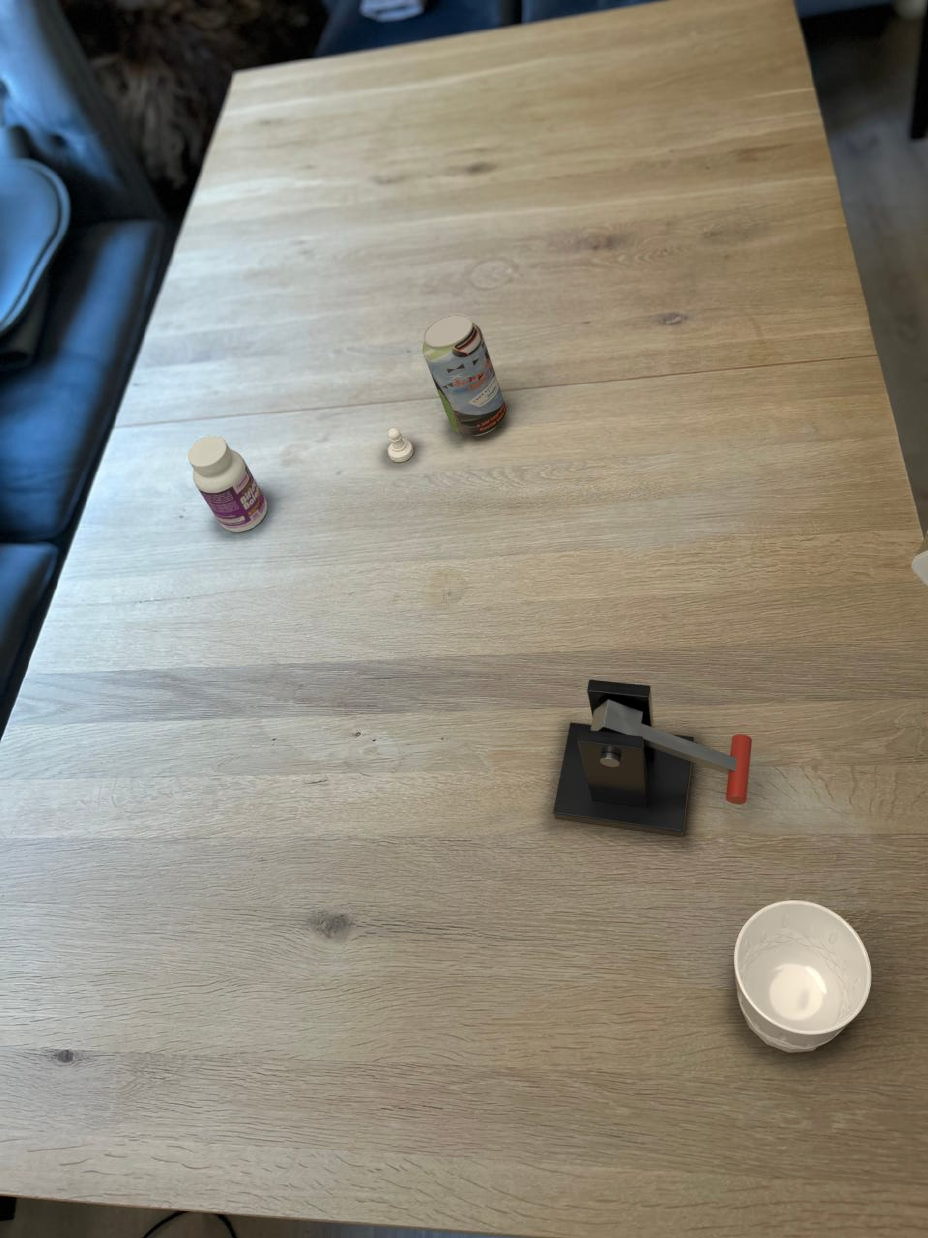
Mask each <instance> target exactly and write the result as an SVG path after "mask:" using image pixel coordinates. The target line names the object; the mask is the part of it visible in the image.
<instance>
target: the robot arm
mask: <svg viewBox="0 0 928 1238" xmlns="http://www.w3.org/2000/svg"><path fill="white" fill-rule="evenodd" d="M910 565H911V570H912V571H913V572H914V574H915V575H917V578H918V579H920V581H921V582H922V583H923V584H924V585H925V586H927V587H928V530H926V532H925V536H924V538H923V540H922V542H921V545H920V546H919V549H917V552H916V553H915V555H914V557H913V560H912V561H911V564H910Z"/></svg>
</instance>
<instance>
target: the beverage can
mask: <svg viewBox="0 0 928 1238" xmlns="http://www.w3.org/2000/svg"><path fill="white" fill-rule="evenodd" d="M422 354H423V358H424V360H425V362H426V365H427V368H428V370H429V373H430V375H431V378H432V380H433V383H434V385H435V388H436V391H437V393H438V396H439V399H440V402H441V404H442V407H443V409H444V411H445V414H446V416H447V420H448V422H449V425H450V427H451V429H452V430H453V431H454V432H455V433H456V434H458V435H462V436H466V437H478V436H479V437H480V436H484V435H486V434H488V433H490V432H492V431H493V430H495V429H496V428H497V427H498V426H499V425H500V424H501V423H502V422H503V420H504V419H505V417H506V414H507V410H508V409H507V404H506V402H505V399H504V395H503V392H502V390H501V387H500V383H499V380H498V377H497V374H496V371H495V368H494V365H493V361H492V359H491V356H490V353H489V350H488V347H487V344H486V341H485V338H484V335H483V332H482V330H481V328H480V327H479V325H477V324H476V323H474V322H473V320H472V319H471V318H470V317H469V316H468V315H465V314H461V313H460V314H458V313H457V314H449V315H446V316H443V317H440V318H439V319H437V320H434V321H433V322H432V323H431V324H429V326H428V327H427V328H426V329H425V331H424V334H423V343H422Z"/></svg>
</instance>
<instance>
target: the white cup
mask: <svg viewBox="0 0 928 1238" xmlns="http://www.w3.org/2000/svg"><path fill="white" fill-rule="evenodd" d="M733 965H734V979H735V989H736V994H737V999H738V1004H739V1005H738V1006H739V1007H740V1010H741V1012H742V1014H743V1017H744V1019H745V1022H746V1024H747V1027H748V1028H749V1029H750V1030H751V1031H752V1032H753V1033H754V1034H755V1035H756V1036H757V1037H758V1038H759V1039H760V1040H762V1041H763V1043H764V1044H766V1045H768V1046H770V1047H773V1048H776V1049H778V1050H780V1051H783V1052H786V1053H789V1054H793V1053H804V1052H805V1053H806V1052H813V1051H815V1050H817V1049H818V1048H820V1047H822V1045H825V1044H827V1043H829V1042H830V1041H832V1040H833V1039H834V1038H835V1037H837V1036H838V1035H839V1034H840V1033H842V1031H844V1030H845V1028H846V1027H847V1026H848V1025H849V1024H850V1023H851V1022H852V1021H853V1020H854V1019H855V1018H856V1017H857V1016H858V1015H859V1013H860V1012H861V1011H862V1009H863V1008H864V1006H865V1004H866V1002H867V1001H868V997H869V994H870V991H871V985H872V966H871V961H870V957H869V954H868V950H867V948H866V946H865V944H864V942H863V940H862V939H861V937H860V935H859V934H858V933H857V931H856V930H855V929H854V928H853V927H852V925H851V924H850V923H849V922H848V921H846V920H845V918H843V917H842V916H840V915H839V914H838V913H836V912H835V911H833V910H831V909H830V908H828V907H826V906H823V905H820V904H818V903H815V902H811V901H806V900H797V899H796V900H795V899H792V900H791V899H790V900H789V899H788V900H781V901H777V902H774V903H770V904H768V905H766V906H764V907H762V908H760V909H759V910H758V911H756V912H755V913H754V914H752V915H751V916H750V917H749V919H747V921H746V922H745V923H744V925H743V927H742V928H741V930H740V932H739V934H738V936H737V939H736V942H735V946H734V952H733Z"/></svg>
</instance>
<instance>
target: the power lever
mask: <svg viewBox="0 0 928 1238" xmlns="http://www.w3.org/2000/svg"><path fill="white" fill-rule="evenodd" d="M642 715H643V712H642V711H639V710H636V709H634V708H631V707H628V706H625V705H623V704H620V703H617V702H614V701H612V700H609V699H608V700H607V701H605V702H604V703H603V704H602V705H600V706H599V707H598V708H597V709H596V710H594V714H593V718H592V720H591V724H590V725H591V730H593V731H601V732H610V733H618V734H626V735H635V736H642V737H643V743H644V745H646V746H649V747H651V748H654V749H657V750H660V751H663V752H665V753H668V754H671V755H674V756H677V757H679V758H682V759H685V760H688V761H691V762H692V764H696V765H699V766H702V767H705V768H708V769H710V770H712V771H717V772H719V773H721V774H724V775H727V784H726V794H725V800H726V801H727V802H728V803H730V804H733V805H745V804H746V803H747V800H748V791H749V790H748V789H749V780H750V779H749V777H750V767H751V766H750V765H751V756H752V754H751V753H752V745H753V738H752V737H751V736H749V735H748V734H742V733H737V734H734V735H732V737H731V743H730V744H731V745H730V753H729V754H727V753H724V752H721V751H719V750H715V749H713V748H710V747H708V746H705V745H703V744H699V743H696V742H695V741H694V742H691V741H688V740H686V739H683V738H680V737H677V736H675V735H676V734H673V733H669V732H666V731H663V730H661V729H658V728H656V727H654V728H652V727H650V726H647V725H644V724H641V721H642ZM672 734H673V735H672Z"/></svg>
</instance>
